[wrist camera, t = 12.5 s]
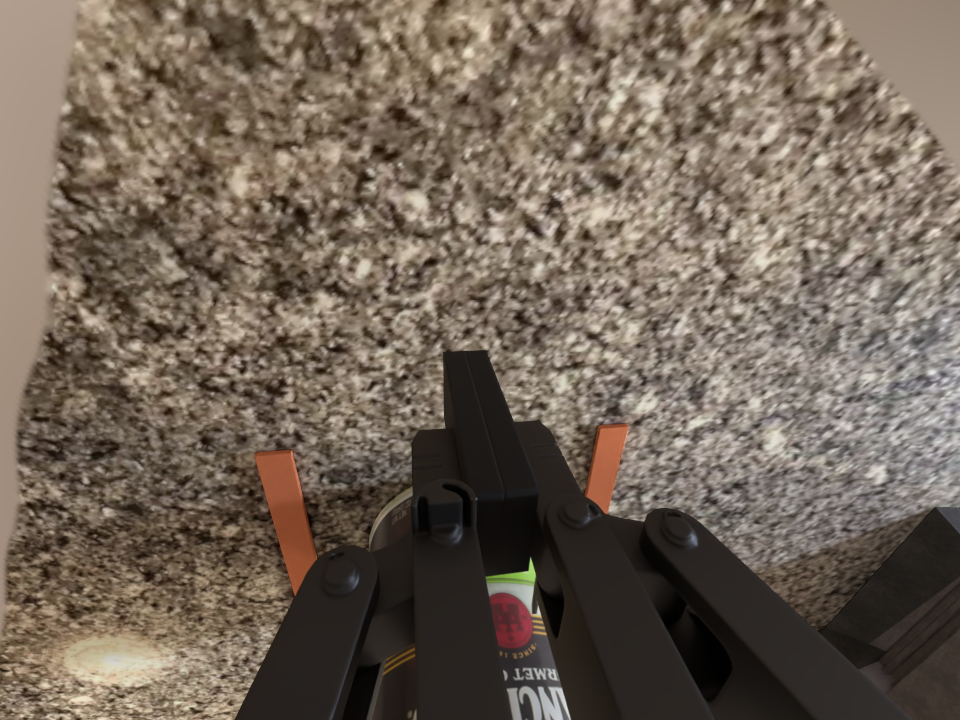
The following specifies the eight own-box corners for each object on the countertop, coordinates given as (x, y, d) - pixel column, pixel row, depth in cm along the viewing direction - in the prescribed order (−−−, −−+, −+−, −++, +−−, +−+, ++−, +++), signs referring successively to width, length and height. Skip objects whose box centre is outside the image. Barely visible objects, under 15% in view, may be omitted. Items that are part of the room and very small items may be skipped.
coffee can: (376, 464, 20) (333, 944, 8) (564, 474, 23) (748, 855, 11) (359, 595, 25) (313, 1037, 12) (518, 591, 27) (611, 958, 15)
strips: (256, 451, 19) (253, 456, 19) (626, 423, 22) (628, 426, 22) (300, 608, 25) (299, 613, 24) (591, 568, 27) (593, 572, 27)
